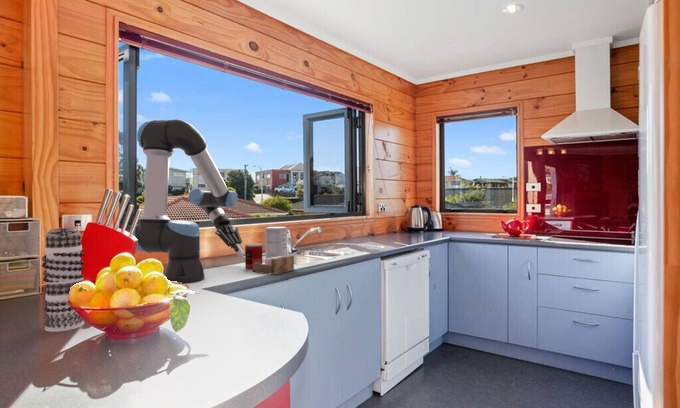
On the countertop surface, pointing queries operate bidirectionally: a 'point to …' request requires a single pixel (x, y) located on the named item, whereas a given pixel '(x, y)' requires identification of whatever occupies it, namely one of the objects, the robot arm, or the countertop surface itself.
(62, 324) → the decorative candle
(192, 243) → the robot arm
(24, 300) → the countertop surface
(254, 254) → the canned food
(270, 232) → the white canister
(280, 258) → the dock
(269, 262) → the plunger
